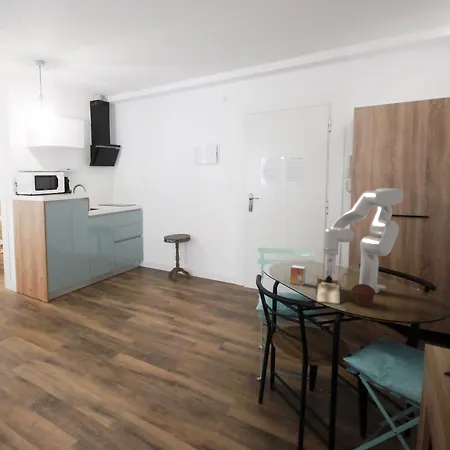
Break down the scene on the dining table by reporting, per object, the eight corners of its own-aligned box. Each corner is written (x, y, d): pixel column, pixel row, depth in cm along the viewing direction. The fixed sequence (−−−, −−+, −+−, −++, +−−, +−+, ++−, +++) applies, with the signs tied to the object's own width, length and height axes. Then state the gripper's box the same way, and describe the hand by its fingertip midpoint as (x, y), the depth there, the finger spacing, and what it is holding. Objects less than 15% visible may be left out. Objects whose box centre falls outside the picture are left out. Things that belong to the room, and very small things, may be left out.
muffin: (346, 303, 180) (347, 284, 178) (356, 298, 187) (357, 280, 186) (369, 309, 171) (371, 289, 170) (378, 304, 179) (380, 285, 178)
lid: (339, 286, 189) (339, 282, 188) (339, 304, 178) (339, 299, 176) (318, 284, 192) (318, 280, 191) (316, 301, 181) (317, 297, 179)
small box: (289, 283, 212) (290, 266, 211) (292, 281, 217) (293, 264, 216) (302, 285, 208) (303, 268, 207) (305, 283, 213) (306, 266, 212)
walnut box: (339, 288, 204) (340, 278, 203) (340, 297, 189) (341, 286, 188) (316, 286, 208) (317, 276, 207) (316, 294, 192) (316, 283, 192)
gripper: (338, 254, 180) (336, 289, 182) (337, 249, 194) (335, 281, 196) (323, 253, 182) (321, 287, 184) (323, 248, 196) (321, 280, 198)
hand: (328, 284), depth 190 cm, fingers closed
